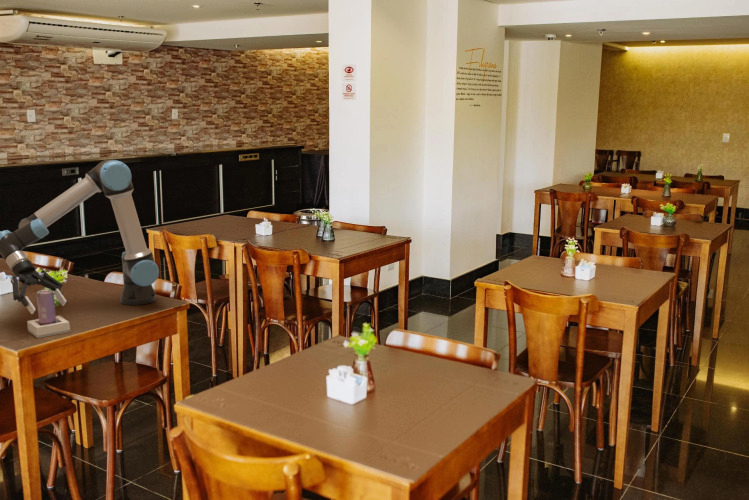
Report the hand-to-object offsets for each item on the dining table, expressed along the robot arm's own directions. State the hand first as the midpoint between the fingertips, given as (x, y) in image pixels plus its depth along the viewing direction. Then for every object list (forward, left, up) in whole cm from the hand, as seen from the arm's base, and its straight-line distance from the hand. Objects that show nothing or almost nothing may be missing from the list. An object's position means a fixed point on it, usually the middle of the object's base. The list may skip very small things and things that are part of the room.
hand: (49, 307), depth 281 cm
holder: (+1, -1, -10) cm, 10 cm away
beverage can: (+1, -1, -9) cm, 9 cm away
